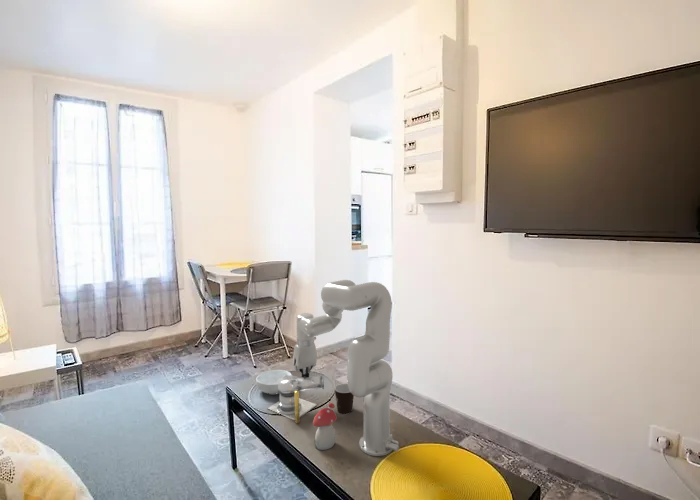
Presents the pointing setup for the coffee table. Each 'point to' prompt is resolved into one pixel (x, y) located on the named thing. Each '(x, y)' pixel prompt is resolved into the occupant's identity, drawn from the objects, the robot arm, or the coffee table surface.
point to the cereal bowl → (270, 380)
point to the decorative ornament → (325, 428)
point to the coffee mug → (344, 399)
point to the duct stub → (292, 406)
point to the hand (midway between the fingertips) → (305, 381)
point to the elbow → (298, 384)
